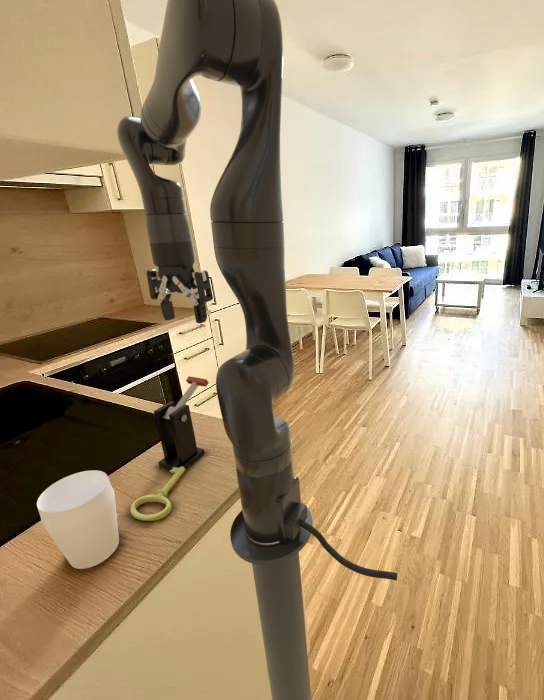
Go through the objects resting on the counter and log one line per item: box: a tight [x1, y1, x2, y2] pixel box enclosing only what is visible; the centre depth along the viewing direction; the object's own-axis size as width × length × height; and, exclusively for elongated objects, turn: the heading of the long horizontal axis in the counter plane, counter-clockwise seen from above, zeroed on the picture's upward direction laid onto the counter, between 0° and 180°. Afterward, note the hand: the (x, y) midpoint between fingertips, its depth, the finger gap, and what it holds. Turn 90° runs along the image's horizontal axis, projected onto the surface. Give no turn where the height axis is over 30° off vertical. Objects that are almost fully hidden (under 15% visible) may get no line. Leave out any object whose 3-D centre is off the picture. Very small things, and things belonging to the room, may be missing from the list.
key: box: [129, 467, 186, 522], centre depth 67 cm, size 7×12×2 cm, turn 6°
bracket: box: [153, 401, 205, 471], centre depth 75 cm, size 7×6×13 cm
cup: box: [36, 469, 120, 570], centre depth 55 cm, size 9×9×12 cm
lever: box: [162, 376, 210, 424], centre depth 76 cm, size 11×5×2 cm, turn 157°
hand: (185, 320), depth 75 cm, fingers open, 8 cm apart
